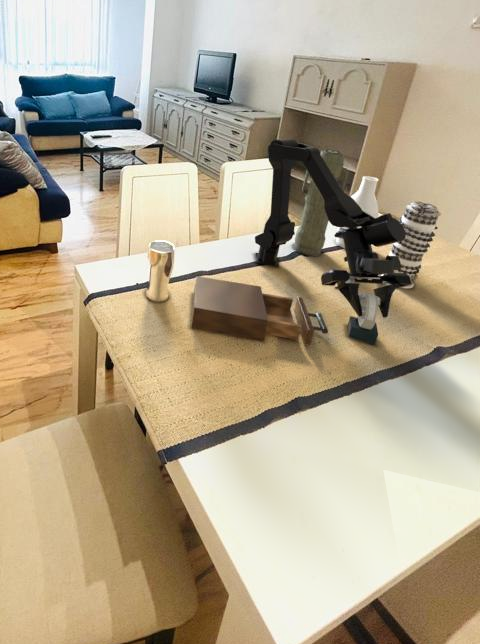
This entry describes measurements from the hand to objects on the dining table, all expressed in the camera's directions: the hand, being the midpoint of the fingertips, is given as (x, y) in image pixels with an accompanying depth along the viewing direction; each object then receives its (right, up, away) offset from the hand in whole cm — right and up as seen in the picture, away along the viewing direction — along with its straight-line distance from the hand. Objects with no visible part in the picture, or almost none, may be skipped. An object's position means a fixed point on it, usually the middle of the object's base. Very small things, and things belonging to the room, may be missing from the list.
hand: (372, 316), depth 89 cm
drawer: (-20, -3, +5) cm, 20 cm away
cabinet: (-32, -2, +8) cm, 33 cm away
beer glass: (-49, +1, +15) cm, 51 cm away
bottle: (+23, +10, +47) cm, 53 cm away
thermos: (+6, +9, +43) cm, 44 cm away
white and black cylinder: (+25, +2, +28) cm, 38 cm away
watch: (-1, -6, +4) cm, 7 cm away
